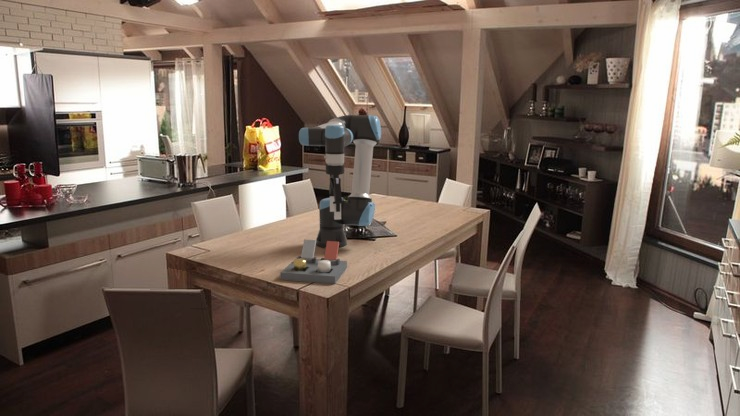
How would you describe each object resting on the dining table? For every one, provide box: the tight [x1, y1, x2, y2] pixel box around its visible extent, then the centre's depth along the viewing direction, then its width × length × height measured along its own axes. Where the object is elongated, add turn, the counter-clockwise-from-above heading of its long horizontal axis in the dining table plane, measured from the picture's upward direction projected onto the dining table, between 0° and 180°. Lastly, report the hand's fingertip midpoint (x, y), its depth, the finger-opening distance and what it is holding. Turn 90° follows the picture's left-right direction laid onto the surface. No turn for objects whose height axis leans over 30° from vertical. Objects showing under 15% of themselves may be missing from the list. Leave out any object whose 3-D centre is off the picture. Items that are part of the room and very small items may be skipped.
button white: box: [318, 260, 331, 273], centre depth 198 cm, size 5×5×4 cm
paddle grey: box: [300, 239, 317, 262], centre depth 210 cm, size 2×5×9 cm
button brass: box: [293, 258, 306, 271], centre depth 200 cm, size 5×5×4 cm
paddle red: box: [323, 241, 340, 264], centre depth 209 cm, size 2×5×9 cm
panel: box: [280, 255, 348, 285], centre depth 203 cm, size 20×22×5 cm
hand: (335, 215), depth 207 cm, fingers open, 13 cm apart
